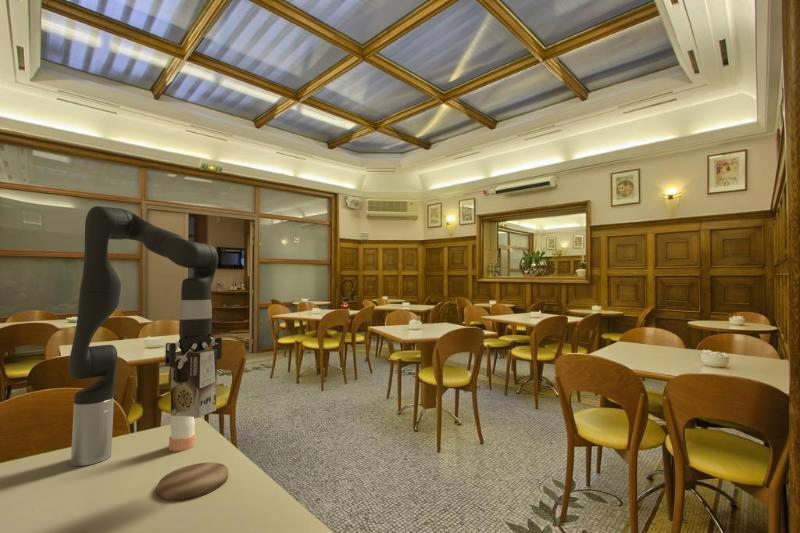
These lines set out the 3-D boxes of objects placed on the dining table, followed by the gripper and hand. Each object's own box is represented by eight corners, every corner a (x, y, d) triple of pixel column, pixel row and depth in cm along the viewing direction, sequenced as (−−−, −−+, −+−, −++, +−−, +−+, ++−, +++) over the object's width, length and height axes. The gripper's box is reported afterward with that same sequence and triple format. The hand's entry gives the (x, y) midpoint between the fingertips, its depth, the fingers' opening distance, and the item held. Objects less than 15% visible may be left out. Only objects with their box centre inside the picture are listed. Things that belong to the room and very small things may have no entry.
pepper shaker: (175, 442, 121) (177, 383, 122) (199, 441, 122) (200, 382, 123) (164, 452, 114) (166, 389, 115) (189, 450, 115) (191, 388, 116)
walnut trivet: (143, 489, 92) (143, 483, 92) (203, 463, 106) (203, 457, 106) (181, 507, 85) (182, 500, 85) (241, 476, 99) (241, 470, 99)
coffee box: (217, 410, 98) (218, 348, 99) (198, 418, 92) (200, 352, 93) (188, 408, 100) (190, 348, 101) (168, 415, 94) (170, 351, 95)
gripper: (176, 319, 90) (174, 387, 89) (229, 315, 102) (228, 375, 101) (159, 318, 94) (157, 384, 92) (212, 315, 106) (211, 373, 105)
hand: (194, 379), depth 97 cm, fingers closed on coffee box, 7 cm apart
